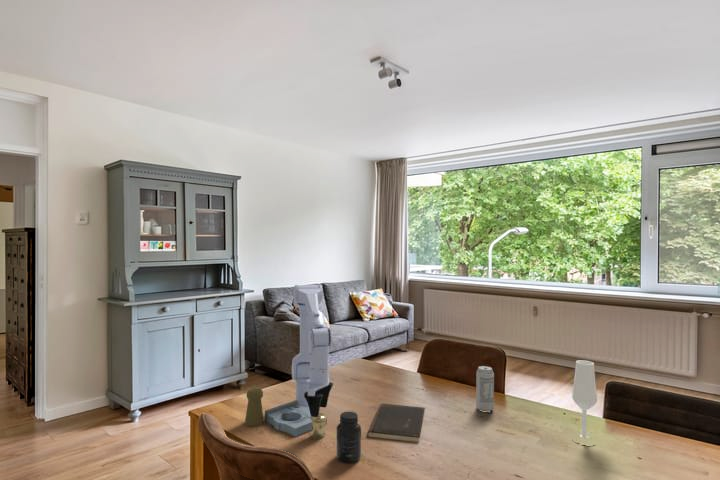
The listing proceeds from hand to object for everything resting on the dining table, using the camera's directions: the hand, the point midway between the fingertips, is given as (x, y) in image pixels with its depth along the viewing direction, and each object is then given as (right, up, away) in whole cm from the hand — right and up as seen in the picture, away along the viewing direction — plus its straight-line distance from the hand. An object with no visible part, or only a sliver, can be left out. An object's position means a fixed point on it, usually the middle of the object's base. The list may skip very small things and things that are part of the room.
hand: (318, 411), depth 133 cm
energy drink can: (+57, -8, +22) cm, 62 cm away
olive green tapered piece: (-22, -7, +9) cm, 25 cm away
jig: (-8, -7, +9) cm, 15 cm away
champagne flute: (+81, -9, -2) cm, 81 cm away
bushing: (0, -8, 0) cm, 8 cm away
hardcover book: (+25, -9, +9) cm, 28 cm away
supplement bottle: (+10, -8, -13) cm, 18 cm away
